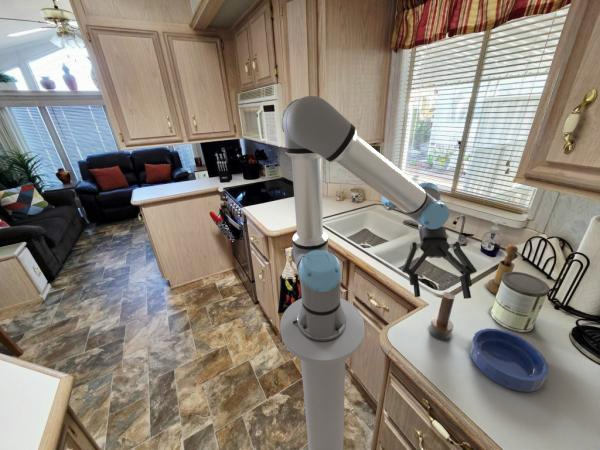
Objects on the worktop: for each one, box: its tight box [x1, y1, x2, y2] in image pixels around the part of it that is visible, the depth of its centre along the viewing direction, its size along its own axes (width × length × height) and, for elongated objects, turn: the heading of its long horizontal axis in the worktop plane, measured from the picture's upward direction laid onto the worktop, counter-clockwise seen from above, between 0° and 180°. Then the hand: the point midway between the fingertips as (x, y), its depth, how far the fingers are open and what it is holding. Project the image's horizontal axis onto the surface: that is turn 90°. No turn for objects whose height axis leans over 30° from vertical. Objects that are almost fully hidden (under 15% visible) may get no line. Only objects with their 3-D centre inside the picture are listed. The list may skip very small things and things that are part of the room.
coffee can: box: [490, 271, 551, 333], centre depth 73 cm, size 10×10×14 cm
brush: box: [429, 291, 456, 341], centre depth 70 cm, size 6×6×14 cm
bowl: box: [469, 328, 549, 393], centre depth 62 cm, size 15×15×4 cm
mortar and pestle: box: [486, 244, 519, 295], centre depth 85 cm, size 7×6×18 cm
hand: (442, 297), depth 72 cm, fingers open, 13 cm apart
